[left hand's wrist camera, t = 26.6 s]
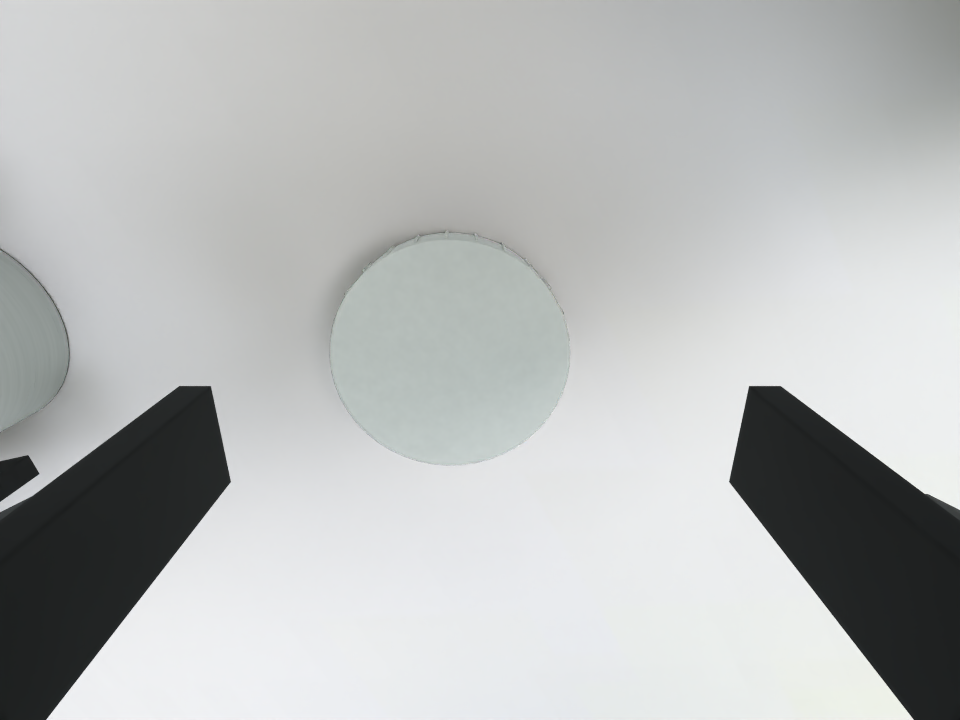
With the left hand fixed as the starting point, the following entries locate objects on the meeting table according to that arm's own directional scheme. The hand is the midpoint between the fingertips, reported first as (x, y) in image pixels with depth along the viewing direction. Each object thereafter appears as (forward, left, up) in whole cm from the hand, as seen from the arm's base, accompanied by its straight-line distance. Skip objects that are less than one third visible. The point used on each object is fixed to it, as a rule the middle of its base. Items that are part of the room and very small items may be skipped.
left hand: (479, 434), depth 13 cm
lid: (0, -1, -7) cm, 7 cm away
